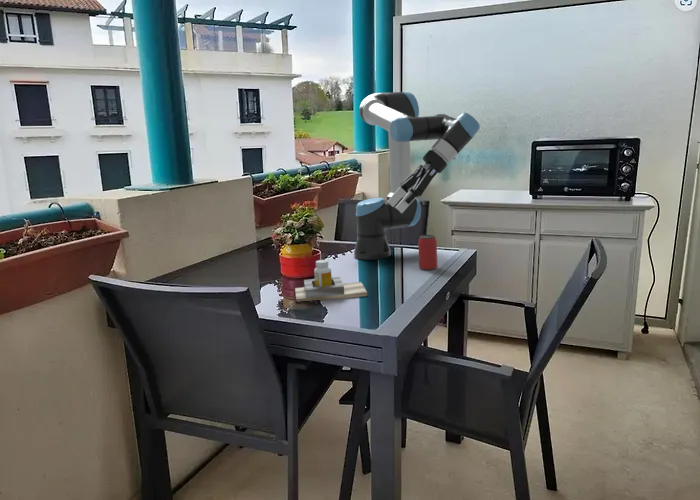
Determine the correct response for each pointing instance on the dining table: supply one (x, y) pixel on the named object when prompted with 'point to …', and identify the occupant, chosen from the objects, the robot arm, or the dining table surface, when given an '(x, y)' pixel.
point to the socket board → (347, 291)
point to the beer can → (427, 252)
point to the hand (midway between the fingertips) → (394, 207)
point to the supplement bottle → (322, 274)
